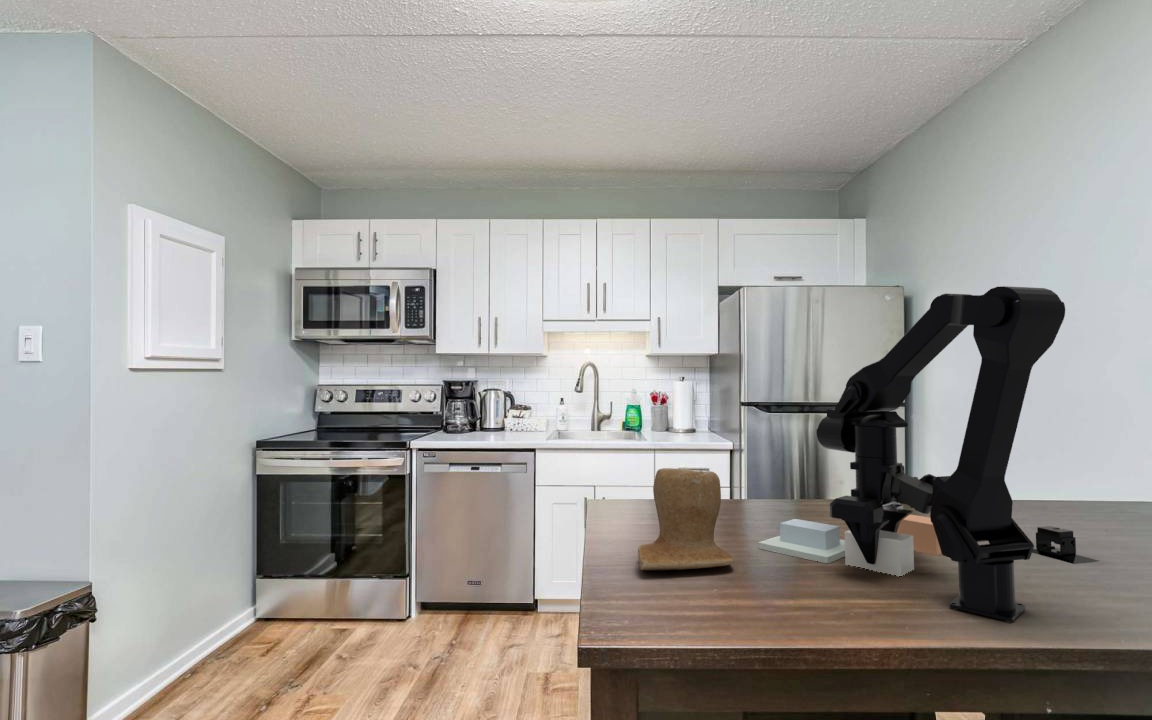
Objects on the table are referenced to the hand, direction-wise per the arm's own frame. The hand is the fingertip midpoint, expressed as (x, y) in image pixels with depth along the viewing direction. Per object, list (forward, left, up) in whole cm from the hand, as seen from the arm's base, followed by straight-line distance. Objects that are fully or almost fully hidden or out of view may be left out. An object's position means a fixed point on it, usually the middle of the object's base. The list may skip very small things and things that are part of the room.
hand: (878, 560), depth 91 cm
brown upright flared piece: (-21, +21, -1) cm, 30 cm away
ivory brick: (0, 0, -1) cm, 1 cm away
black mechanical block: (+28, -16, -2) cm, 32 cm away
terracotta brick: (+16, 0, -1) cm, 16 cm away
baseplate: (+2, +12, -1) cm, 12 cm away
